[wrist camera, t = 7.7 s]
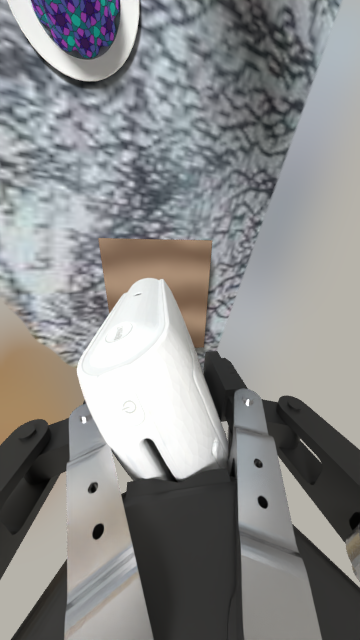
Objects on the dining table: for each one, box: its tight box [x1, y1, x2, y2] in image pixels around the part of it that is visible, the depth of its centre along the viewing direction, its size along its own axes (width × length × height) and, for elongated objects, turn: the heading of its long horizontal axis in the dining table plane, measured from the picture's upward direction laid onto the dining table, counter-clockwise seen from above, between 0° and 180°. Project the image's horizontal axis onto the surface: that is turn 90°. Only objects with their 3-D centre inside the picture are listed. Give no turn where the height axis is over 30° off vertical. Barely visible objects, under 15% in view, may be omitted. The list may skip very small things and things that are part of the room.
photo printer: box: [77, 278, 228, 482], centre depth 12 cm, size 10×4×12 cm, turn 20°
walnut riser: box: [98, 238, 212, 348], centre depth 28 cm, size 16×14×4 cm
